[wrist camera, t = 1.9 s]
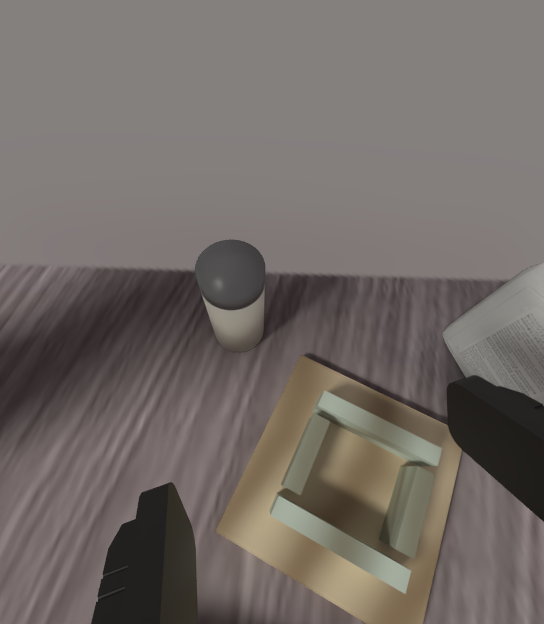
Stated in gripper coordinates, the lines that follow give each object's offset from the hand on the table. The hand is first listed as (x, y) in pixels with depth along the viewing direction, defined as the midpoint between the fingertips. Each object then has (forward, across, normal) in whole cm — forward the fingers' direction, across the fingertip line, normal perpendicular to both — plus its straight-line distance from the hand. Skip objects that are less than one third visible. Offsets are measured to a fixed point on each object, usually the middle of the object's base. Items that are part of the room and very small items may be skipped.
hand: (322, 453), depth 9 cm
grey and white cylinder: (+21, 0, +4) cm, 21 cm away
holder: (+11, -4, +14) cm, 18 cm away
